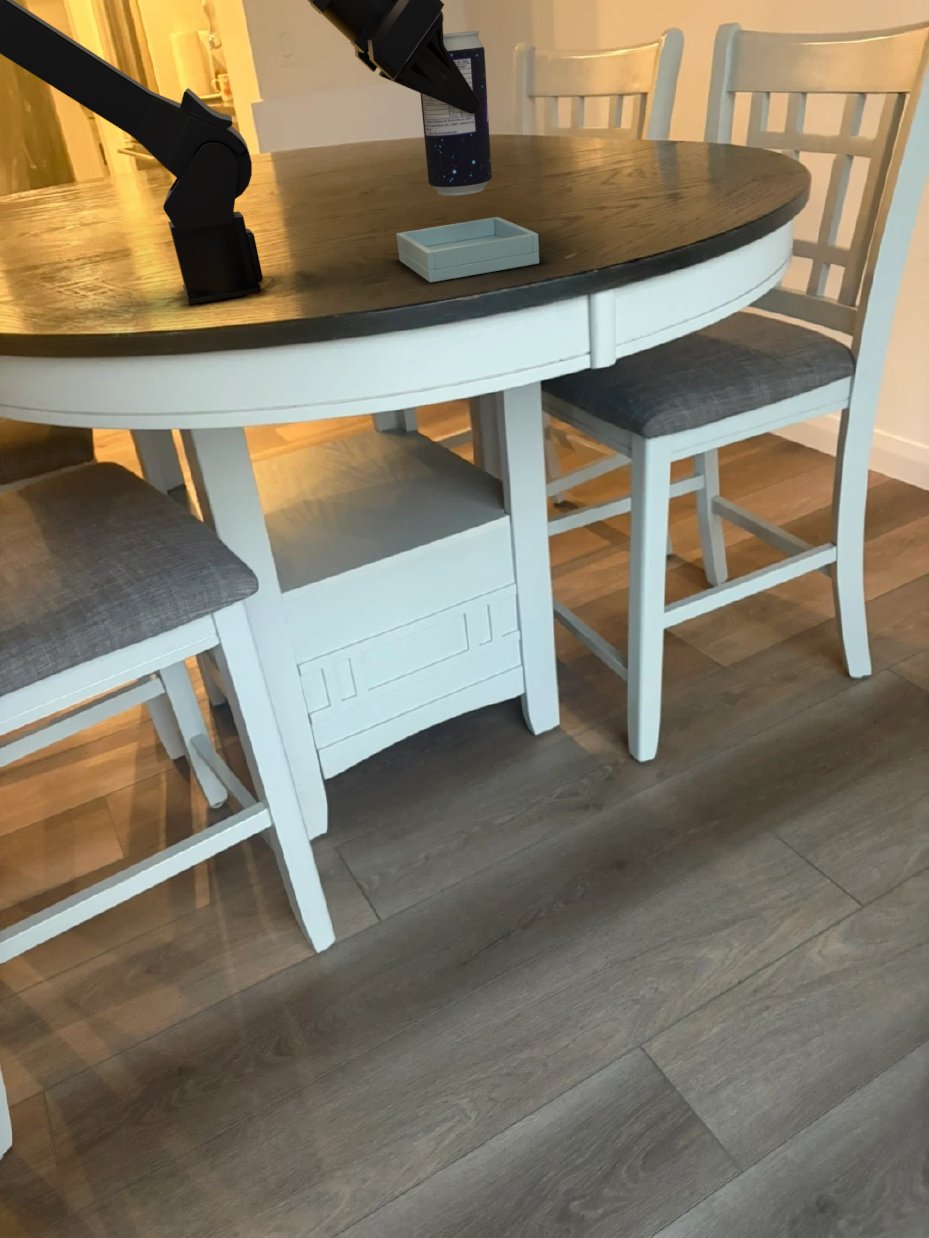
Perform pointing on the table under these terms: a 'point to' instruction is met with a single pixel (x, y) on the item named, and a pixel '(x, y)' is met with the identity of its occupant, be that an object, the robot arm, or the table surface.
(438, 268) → the rectangular tray
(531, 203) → the table surface
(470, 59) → the beverage can
